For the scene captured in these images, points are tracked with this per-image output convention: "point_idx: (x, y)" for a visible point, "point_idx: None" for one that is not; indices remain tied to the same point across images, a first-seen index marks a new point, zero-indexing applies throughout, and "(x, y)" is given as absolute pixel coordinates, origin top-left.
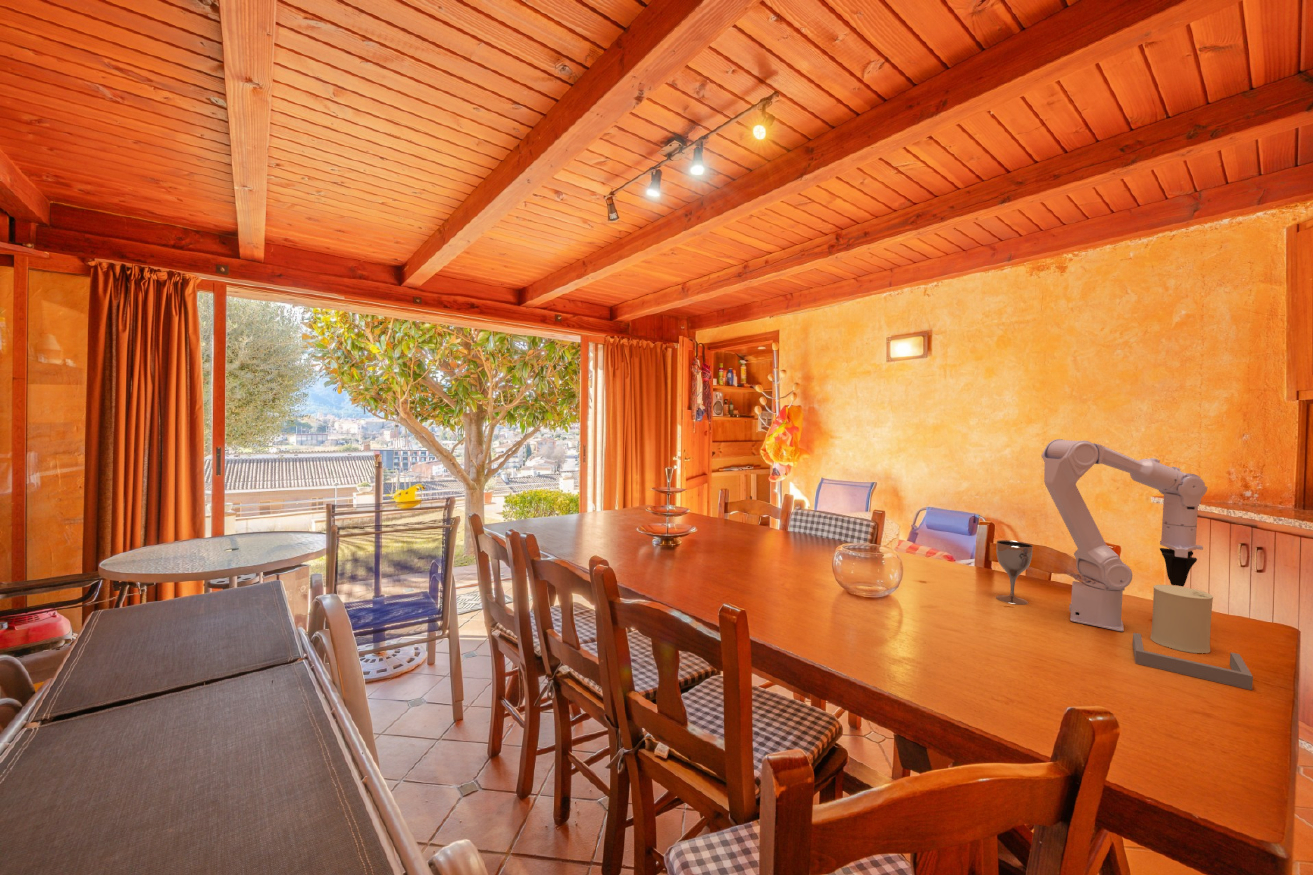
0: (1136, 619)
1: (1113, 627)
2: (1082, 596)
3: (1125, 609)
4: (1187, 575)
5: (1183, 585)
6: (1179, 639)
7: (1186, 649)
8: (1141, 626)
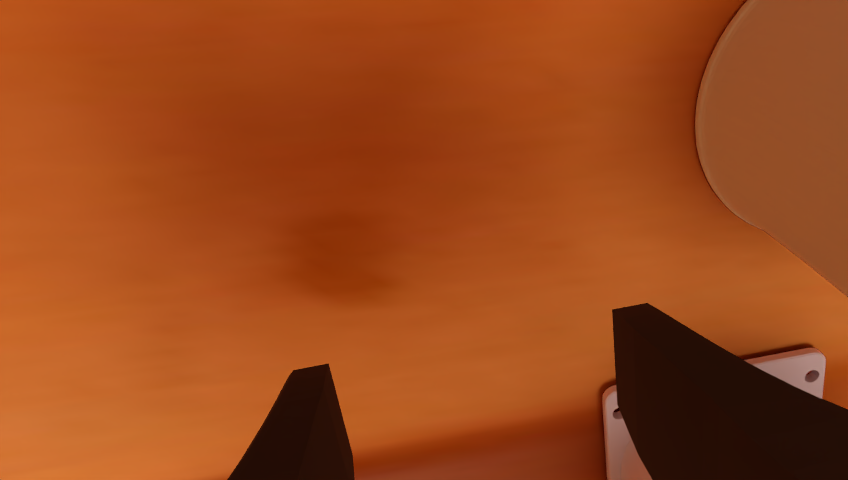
0: (432, 351)
1: (810, 392)
2: None
3: (225, 434)
4: (754, 368)
5: (655, 310)
6: None
7: None
8: (585, 304)
